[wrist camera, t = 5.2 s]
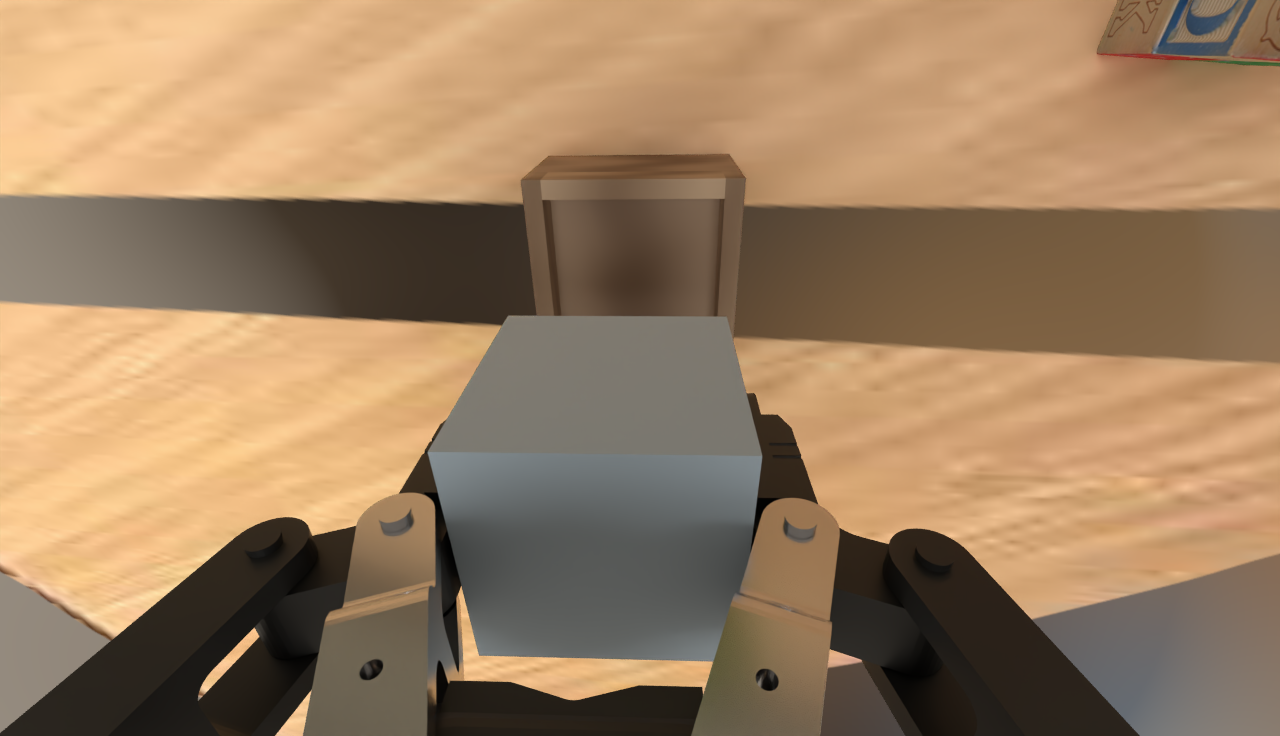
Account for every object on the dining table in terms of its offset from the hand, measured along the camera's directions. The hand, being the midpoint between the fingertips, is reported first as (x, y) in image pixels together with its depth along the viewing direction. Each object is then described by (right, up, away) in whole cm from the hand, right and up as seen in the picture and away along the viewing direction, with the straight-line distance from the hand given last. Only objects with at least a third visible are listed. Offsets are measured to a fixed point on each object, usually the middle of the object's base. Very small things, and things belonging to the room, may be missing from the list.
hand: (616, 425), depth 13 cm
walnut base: (+1, +7, +13) cm, 15 cm away
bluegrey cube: (0, 0, +1) cm, 1 cm away
